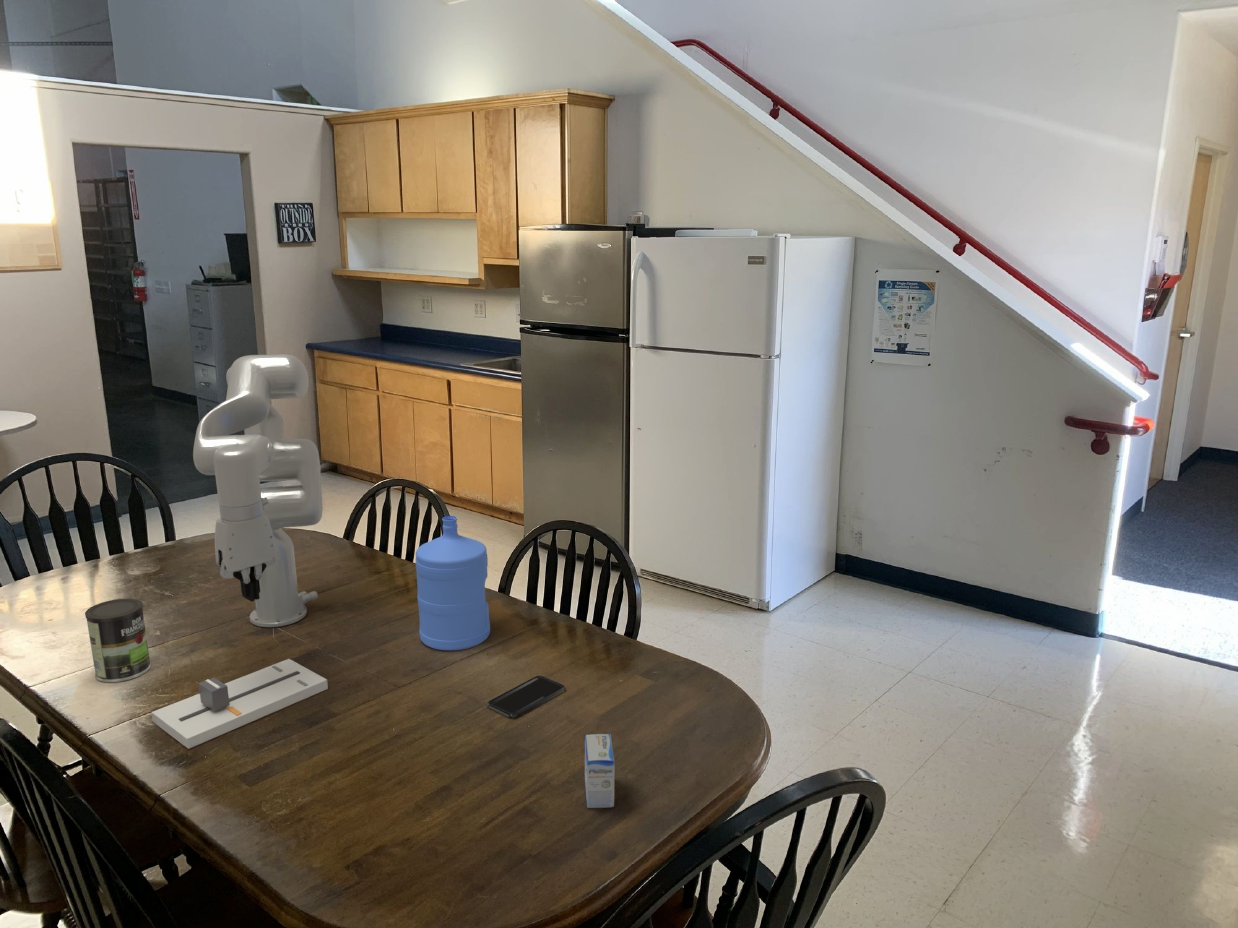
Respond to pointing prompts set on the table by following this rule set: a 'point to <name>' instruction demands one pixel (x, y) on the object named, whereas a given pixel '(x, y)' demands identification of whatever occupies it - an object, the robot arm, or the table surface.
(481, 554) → the water jug
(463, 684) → the table surface
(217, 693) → the fader knob
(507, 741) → the table surface
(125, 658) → the coffee can
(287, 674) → the fader board
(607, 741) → the medicine box
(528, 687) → the phone
